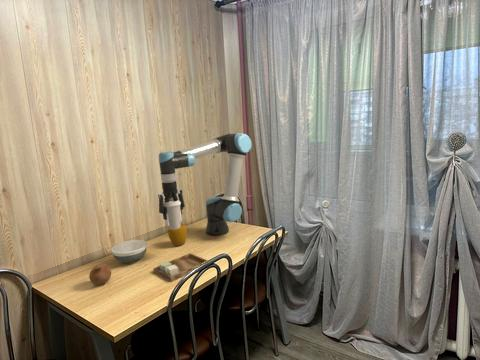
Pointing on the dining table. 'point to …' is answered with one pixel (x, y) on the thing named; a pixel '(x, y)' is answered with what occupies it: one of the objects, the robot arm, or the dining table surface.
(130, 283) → the dining table surface
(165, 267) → the sage block
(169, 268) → the cream block
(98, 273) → the onion
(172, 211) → the coffee cup
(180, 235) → the amber vase
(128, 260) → the bowl
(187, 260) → the tray
